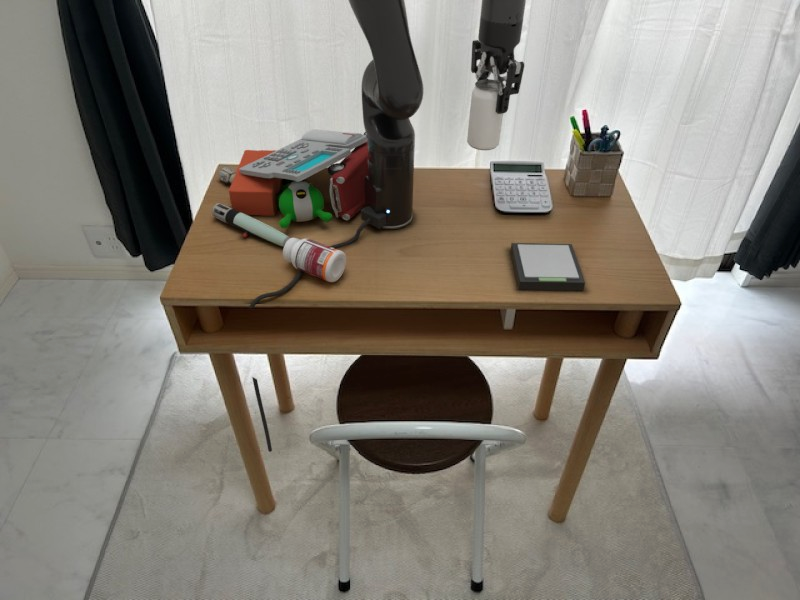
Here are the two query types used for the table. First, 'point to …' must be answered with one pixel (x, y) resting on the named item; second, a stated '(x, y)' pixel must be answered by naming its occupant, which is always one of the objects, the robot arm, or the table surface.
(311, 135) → the office telephone
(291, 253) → the pill bottle
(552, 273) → the scale
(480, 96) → the can
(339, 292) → the table surface
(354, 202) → the toy car
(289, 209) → the toy
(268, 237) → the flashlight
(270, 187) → the brick
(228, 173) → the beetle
